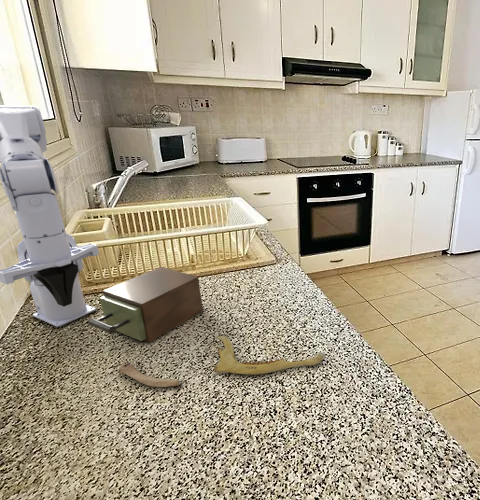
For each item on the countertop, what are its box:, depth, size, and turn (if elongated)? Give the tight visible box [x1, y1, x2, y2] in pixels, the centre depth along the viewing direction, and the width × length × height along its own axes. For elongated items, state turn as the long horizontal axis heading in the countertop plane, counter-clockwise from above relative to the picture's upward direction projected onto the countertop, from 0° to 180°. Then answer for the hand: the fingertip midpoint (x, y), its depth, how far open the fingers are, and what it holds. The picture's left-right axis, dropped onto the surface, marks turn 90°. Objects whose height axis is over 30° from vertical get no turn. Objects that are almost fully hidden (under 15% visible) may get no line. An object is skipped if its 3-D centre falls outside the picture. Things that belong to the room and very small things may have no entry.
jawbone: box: [213, 335, 326, 375], centre depth 67 cm, size 21×9×2 cm, turn 79°
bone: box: [117, 362, 180, 388], centre depth 63 cm, size 3×11×2 cm, turn 72°
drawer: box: [88, 295, 147, 342], centre depth 76 cm, size 17×10×7 cm, turn 154°
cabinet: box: [102, 266, 204, 343], centre depth 79 cm, size 14×12×9 cm
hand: (64, 303), depth 68 cm, fingers closed
